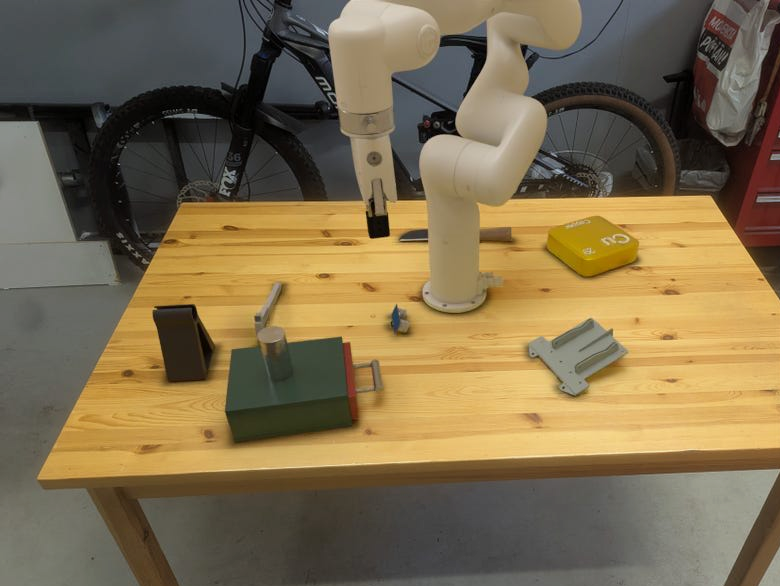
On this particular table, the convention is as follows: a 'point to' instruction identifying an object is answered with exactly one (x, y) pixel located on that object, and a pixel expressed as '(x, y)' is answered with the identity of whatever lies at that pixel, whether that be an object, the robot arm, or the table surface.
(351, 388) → the drawer
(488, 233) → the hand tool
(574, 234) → the element tile
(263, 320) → the grey bent bar
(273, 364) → the tin
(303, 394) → the cabinet
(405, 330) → the ultrasonic sensor
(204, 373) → the phone stand
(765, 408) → the table surface
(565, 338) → the metal bracket
